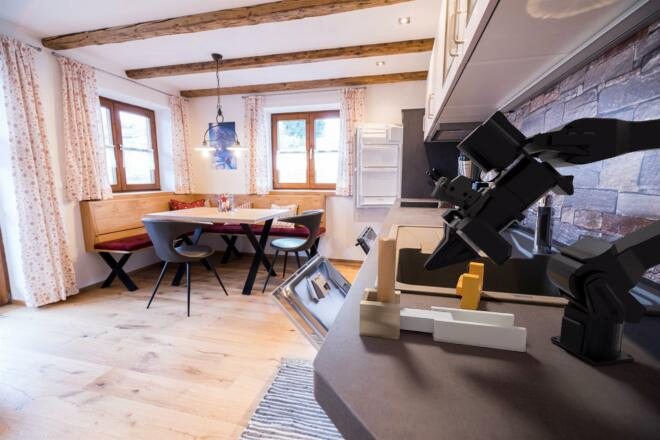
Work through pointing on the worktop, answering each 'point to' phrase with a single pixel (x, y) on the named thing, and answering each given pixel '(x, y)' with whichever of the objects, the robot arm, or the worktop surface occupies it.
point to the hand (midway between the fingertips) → (426, 268)
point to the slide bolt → (386, 291)
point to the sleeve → (479, 329)
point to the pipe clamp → (471, 286)
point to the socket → (379, 316)
